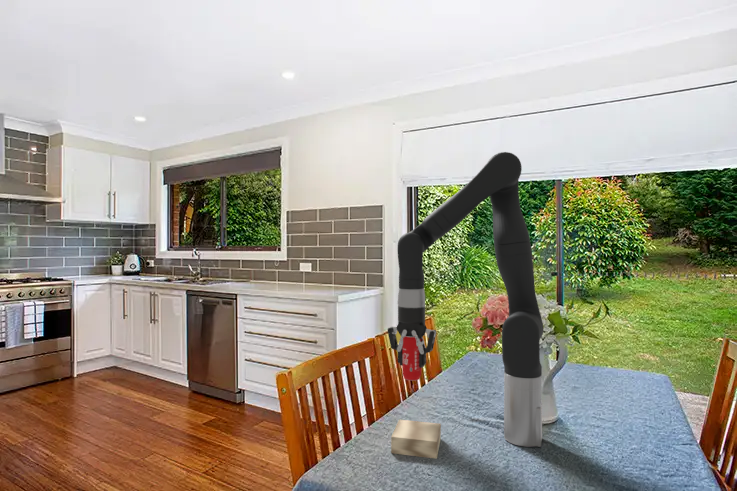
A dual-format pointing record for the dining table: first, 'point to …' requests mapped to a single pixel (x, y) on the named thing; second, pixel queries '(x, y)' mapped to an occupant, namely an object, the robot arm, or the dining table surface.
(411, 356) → the beverage can
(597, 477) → the dining table surface
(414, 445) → the beech block
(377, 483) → the dining table surface
